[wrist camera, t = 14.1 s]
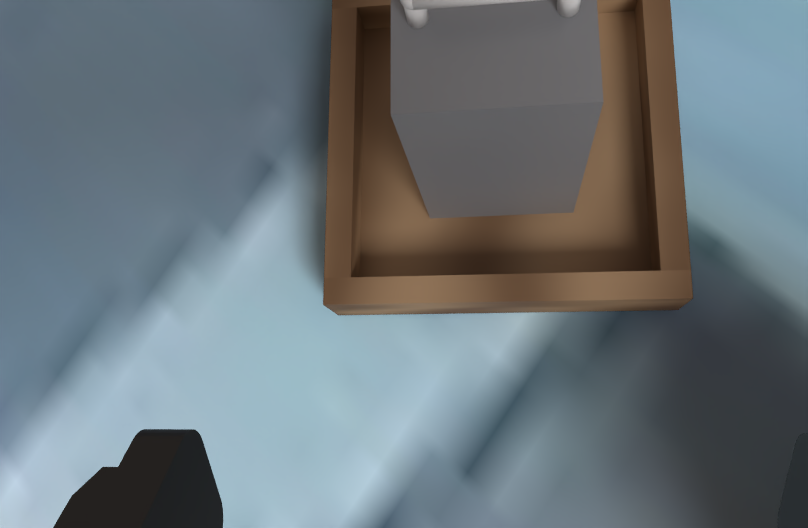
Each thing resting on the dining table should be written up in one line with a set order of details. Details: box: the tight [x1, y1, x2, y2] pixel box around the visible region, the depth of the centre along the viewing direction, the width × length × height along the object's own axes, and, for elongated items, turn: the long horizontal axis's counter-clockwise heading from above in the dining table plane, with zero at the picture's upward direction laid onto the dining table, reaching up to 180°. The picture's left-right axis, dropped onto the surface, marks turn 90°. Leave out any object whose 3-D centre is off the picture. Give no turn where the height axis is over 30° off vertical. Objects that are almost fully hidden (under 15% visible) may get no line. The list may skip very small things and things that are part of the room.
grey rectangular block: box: [391, 0, 603, 218], centre depth 25 cm, size 6×6×12 cm
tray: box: [323, 0, 693, 315], centre depth 30 cm, size 13×13×2 cm
